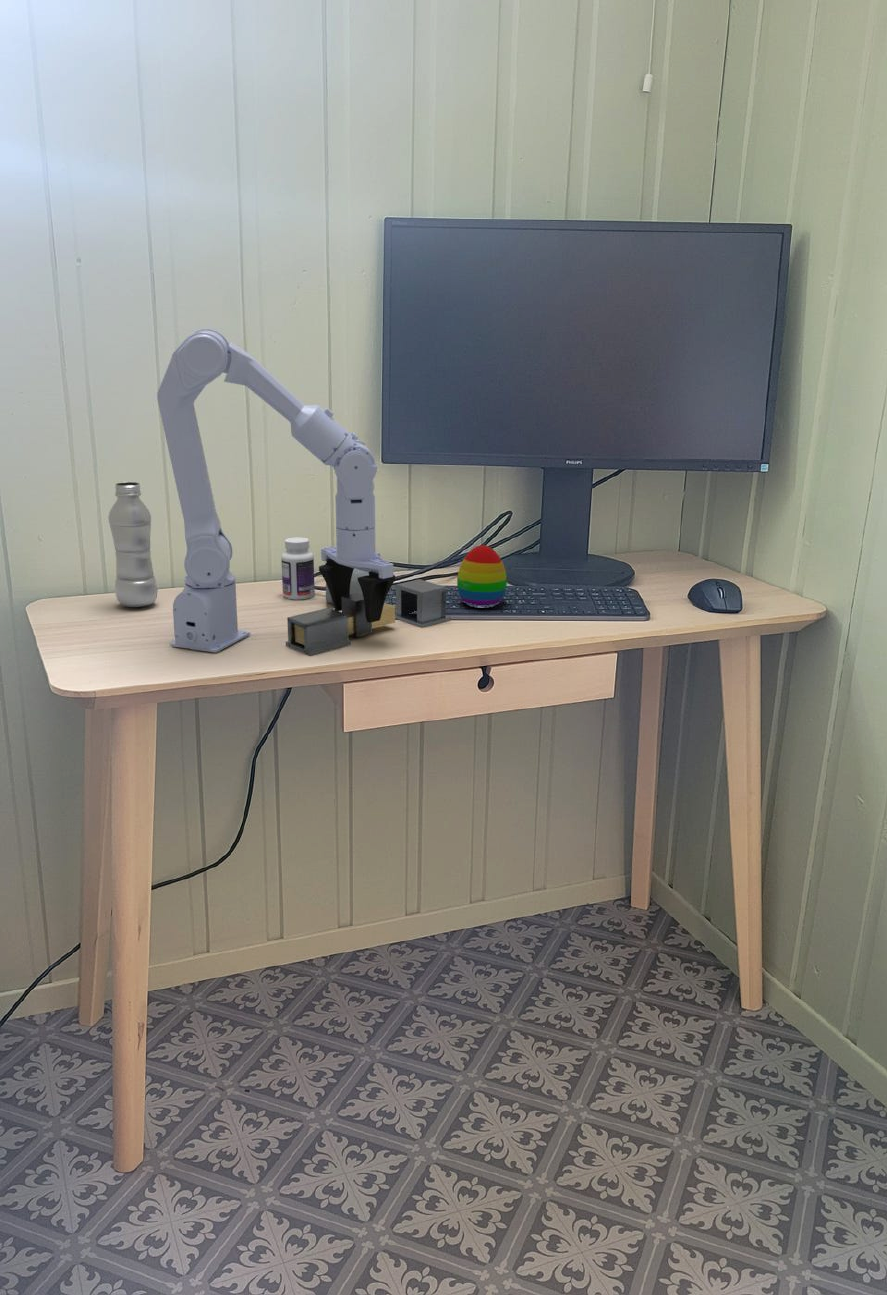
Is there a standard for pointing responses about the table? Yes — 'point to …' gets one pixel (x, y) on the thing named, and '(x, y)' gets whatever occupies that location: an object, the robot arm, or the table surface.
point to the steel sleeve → (319, 631)
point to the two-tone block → (356, 617)
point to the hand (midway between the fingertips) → (357, 615)
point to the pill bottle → (297, 569)
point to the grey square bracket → (421, 603)
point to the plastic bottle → (132, 547)
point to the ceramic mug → (353, 585)
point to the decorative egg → (482, 577)
